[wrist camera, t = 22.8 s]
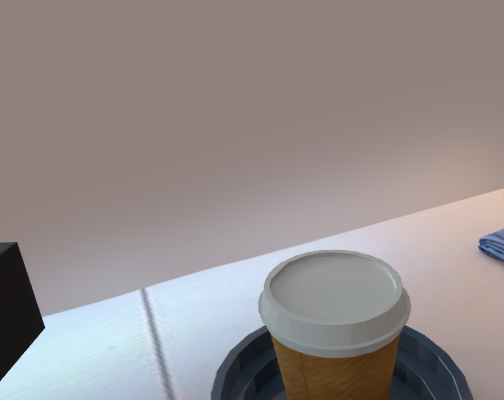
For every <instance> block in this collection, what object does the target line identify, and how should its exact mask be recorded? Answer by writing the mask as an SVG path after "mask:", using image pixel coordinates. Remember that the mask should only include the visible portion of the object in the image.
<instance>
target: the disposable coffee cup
mask: <svg viewBox="0 0 504 400" xmlns="http://www.w3.org/2000/svg"><path fill="white" fill-rule="evenodd" d="M258 305H259V314H260V316H261V319H262V321H263V323H264V324H265V325H266V327H267V329H268V330H269V332H270V333H271V337H272V341H273V344H274V345H275V346H274V349H275V352H276V356H277V359H278V364H279V367H280V371H281V374H282V375H281V376H282V379H283V383H284V386H285V391H286V394H287V398H288V400H388V399H389V394H390V388H391V383H392V377H393V371H394V366H395V361H396V354H397V348H398V342H399V337H400V333H401V330H402V328H403V327H404V325H405V324H406V322H407V320H408V318H409V314H410V310H411V304H410V298H409V296H408V293H407V291H406V290H405V289H404V287H403V285H402V282H401V278H400V276H399V275H398V273H397V272H396V271H395V270H394V269H393V268H392V267H391V266H390V265H388V264H387V263H385V262H384V261H382V260H380V259H377V258H375V257H373V256H370V255H367V254H363V253H359V252H354V251H345V250H320V251H314V252H308V253H304V254H301V255H297V256H295V257H292V258H290V259H288V260H286V261H284V262H282V263H280V264H279V265H278V266H276V267H275V268H274V269H273V270H272V271H271V272H270V273H269V275H268V276H267V278H266V280H265V284H264V290H263V291H262V293H261V295H260V298H259V302H258Z"/></svg>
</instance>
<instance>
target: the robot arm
mask: <svg viewBox="0 0 504 400" xmlns="http://www.w3.org/2000/svg"><path fill="white" fill-rule="evenodd" d="M44 329H45V326H44V323H43V320H42V317H41V314H40V310H39V308H38V305H37V302H36V299H35V295H34V292H33V289H32V286H31V283H30V280H29V277H28V274H27V271H26V268H25V265H24V262H23V259H22V256H21V253H20V250H19V247H18V244H17V242H10V243H0V381H1V380H2V378H3V377H4V376H5V375H6V374H7V372H8V371H9V370H10V369H11V368H12V367H13V365H14V364H15V363H16V362H17V361H18V359H19V358H20V357H21V356H22V355H23V354H24V352H25V351H26V350H27V349H28V348H29V346H30V345H31V344H32V343H33V342H34V340H35V339H36V338H37V337H38V336H39V335H40V333H41V332H42V331H43V330H44Z"/></svg>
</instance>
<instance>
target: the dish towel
mask: <svg viewBox="0 0 504 400" xmlns="http://www.w3.org/2000/svg"><path fill="white" fill-rule="evenodd" d="M479 243H480V245H479V246H478V248H479V249H480V250H481V251H482V252H483V253H485V254H487V255H490V256H492V257H494V258H497V259H499V260H501V261H504V229H503V230H500V231H497V232H495V233H492V234H488V235H486V236H484V237H482V238H480V240H479Z"/></svg>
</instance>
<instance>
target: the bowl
mask: <svg viewBox="0 0 504 400" xmlns="http://www.w3.org/2000/svg"><path fill="white" fill-rule="evenodd" d="M274 346H275V345H274V344H273V341H272V337H271V333H270V332H269V330H268V329H267V327H266V325H265V326H263V327H261V328H259V329H258V330H256V331H254V332H253V333H251V334H249V335H248V336H246V337H245V338H244V339H243V340H242V341H241V342H240V343H239V344H238V345H236V346H235V347H234V348H233V349H232V350H231V351H230V352H229V354H228V355H227V357H226V358H225V360H224V361H223V363H222V364H221V366H220V367H219V369H218V371H217V372H216V376H215V379H214V383H213V386H212V390H211V393H210V400H288V398H287V394H286V391H285V386H284V383H283V379H282V376H281V375H282V374H281V371H280V367H279V364H278V359H277V356H276V352H275V349H274ZM388 400H473V397H472V394H471V392H470V389H469V386H468V384H467V381H466V379H465V376H464V375H463V373H462V372H461V371H460V369H459V368H458V367H457V365H456V364H455V363H454V361H453V360H452V359H451V358H450V356H449V355H448V354H447V353H446V352H445V351H444V350H442V349H441V348H440V347H439V346H437V345H436V344H435V343H434V342H433V341H431V340H430V339H429V338H428V337H426V336H425V335H423V334H421V333H419V332H417V331H415V330H414V329H412V328H410V327H408V326H406V325H404V327H403V328H402V330H401V333H400V337H399V342H398V348H397V354H396V361H395V366H394V371H393V377H392V383H391V388H390V394H389V399H388Z"/></svg>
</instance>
